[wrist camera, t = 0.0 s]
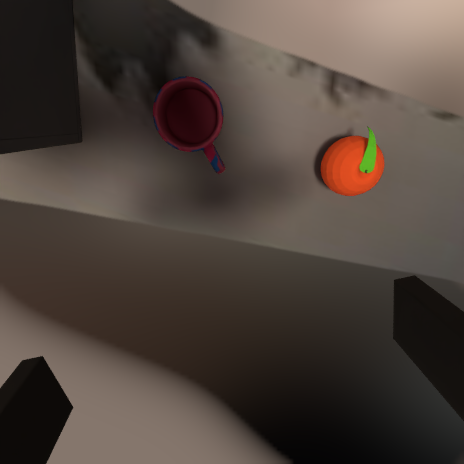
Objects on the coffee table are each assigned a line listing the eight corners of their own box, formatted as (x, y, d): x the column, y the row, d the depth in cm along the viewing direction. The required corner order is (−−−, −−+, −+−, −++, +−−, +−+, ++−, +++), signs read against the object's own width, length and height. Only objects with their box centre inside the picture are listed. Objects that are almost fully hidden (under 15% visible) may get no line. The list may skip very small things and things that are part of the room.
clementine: (322, 121, 35) (348, 121, 28) (374, 130, 35) (412, 131, 29) (307, 185, 37) (327, 199, 31) (355, 192, 38) (386, 206, 32)
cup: (206, 75, 32) (205, 63, 26) (239, 158, 36) (246, 166, 29) (153, 100, 32) (139, 94, 26) (191, 179, 36) (187, 191, 30)
